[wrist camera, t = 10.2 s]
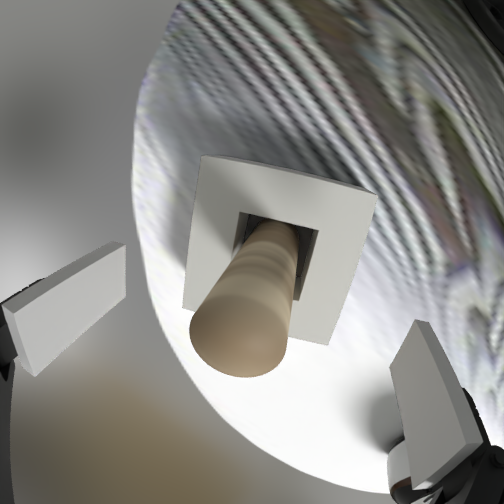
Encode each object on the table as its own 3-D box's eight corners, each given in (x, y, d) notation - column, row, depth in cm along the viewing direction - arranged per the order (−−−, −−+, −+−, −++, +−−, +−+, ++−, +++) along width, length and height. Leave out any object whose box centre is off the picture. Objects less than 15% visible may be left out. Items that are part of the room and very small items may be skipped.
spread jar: (385, 462, 29) (391, 528, 19) (380, 422, 27) (390, 505, 16) (461, 435, 26) (480, 496, 15) (471, 388, 23) (503, 461, 13)
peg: (257, 211, 22) (193, 285, 10) (304, 223, 21) (298, 312, 9) (248, 255, 23) (186, 361, 11) (293, 266, 23) (273, 386, 11)
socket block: (219, 155, 21) (201, 155, 17) (365, 188, 20) (378, 195, 16) (200, 285, 25) (182, 307, 21) (325, 317, 24) (327, 345, 20)
